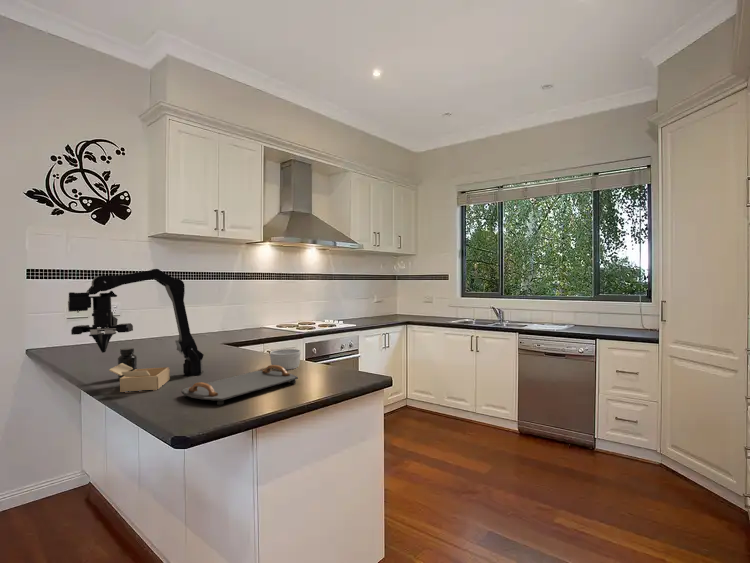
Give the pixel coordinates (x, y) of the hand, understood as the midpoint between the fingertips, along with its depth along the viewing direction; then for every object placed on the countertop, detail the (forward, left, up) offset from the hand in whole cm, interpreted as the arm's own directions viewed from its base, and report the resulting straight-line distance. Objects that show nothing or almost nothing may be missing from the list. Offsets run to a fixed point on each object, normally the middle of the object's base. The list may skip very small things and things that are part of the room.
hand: (103, 352), depth 163 cm
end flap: (-14, +9, -8) cm, 19 cm away
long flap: (-8, +1, -8) cm, 11 cm away
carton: (-14, +1, -13) cm, 20 cm away
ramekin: (-65, -17, -14) cm, 68 cm away
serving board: (-51, +18, -14) cm, 55 cm away
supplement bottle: (-3, -15, -13) cm, 20 cm away
